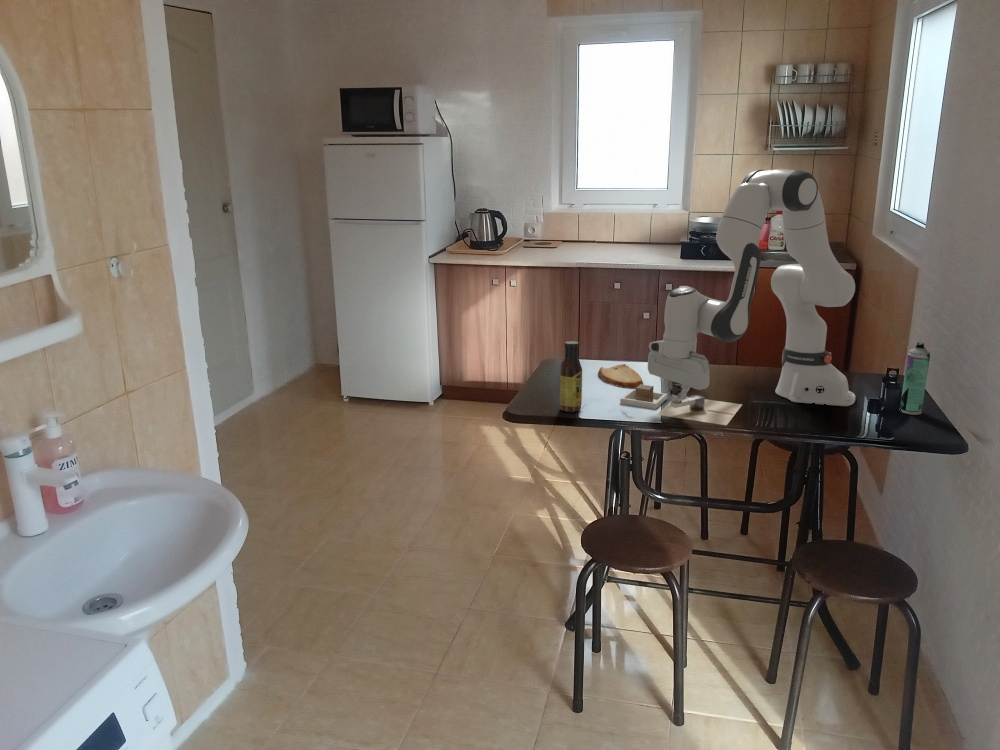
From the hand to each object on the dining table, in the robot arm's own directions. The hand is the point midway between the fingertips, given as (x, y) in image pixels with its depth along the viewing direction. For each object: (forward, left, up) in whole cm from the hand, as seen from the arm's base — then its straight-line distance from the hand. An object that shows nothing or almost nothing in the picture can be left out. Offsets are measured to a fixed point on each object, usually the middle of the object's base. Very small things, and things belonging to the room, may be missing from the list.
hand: (676, 397), depth 209 cm
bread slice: (+27, -31, -7) cm, 42 cm away
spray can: (-57, -37, -7) cm, 68 cm away
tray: (+11, -7, -6) cm, 15 cm away
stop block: (+11, -7, -6) cm, 15 cm away
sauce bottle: (+29, +6, -7) cm, 30 cm away
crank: (-2, -4, -5) cm, 6 cm away
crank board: (-5, -7, -6) cm, 11 cm away
